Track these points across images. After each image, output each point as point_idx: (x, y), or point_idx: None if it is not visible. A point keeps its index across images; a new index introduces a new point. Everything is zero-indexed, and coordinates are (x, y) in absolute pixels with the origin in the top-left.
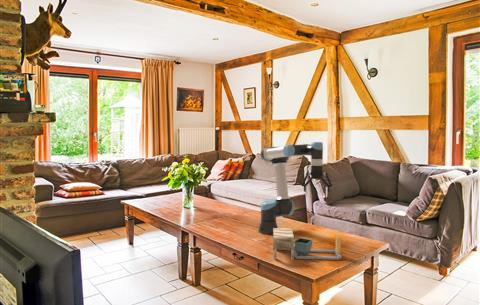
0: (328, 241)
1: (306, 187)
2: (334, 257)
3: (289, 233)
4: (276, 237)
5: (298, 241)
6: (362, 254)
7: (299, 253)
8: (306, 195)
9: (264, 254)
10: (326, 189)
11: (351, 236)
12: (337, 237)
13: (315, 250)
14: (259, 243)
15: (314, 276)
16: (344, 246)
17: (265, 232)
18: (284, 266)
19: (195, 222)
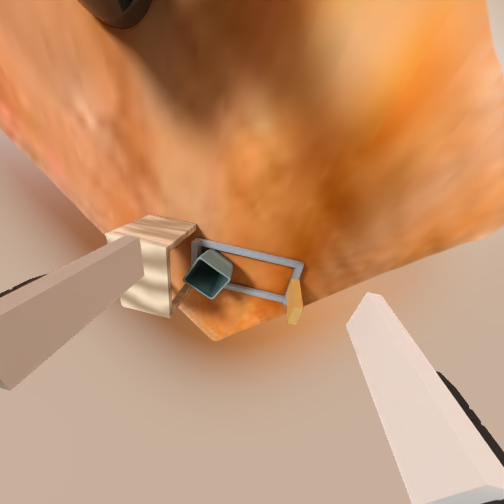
0: (329, 164)
1: (8, 380)
2: (274, 300)
3: (158, 289)
4: (128, 307)
5: (198, 261)
6: (358, 282)
7: (206, 268)
8: (129, 282)
9: None
10: (392, 437)
11: (479, 98)
12: (288, 321)
13: (248, 256)
14: (109, 160)
15: (217, 338)
16: (352, 222)
17: (98, 18)
18: None
19: None
